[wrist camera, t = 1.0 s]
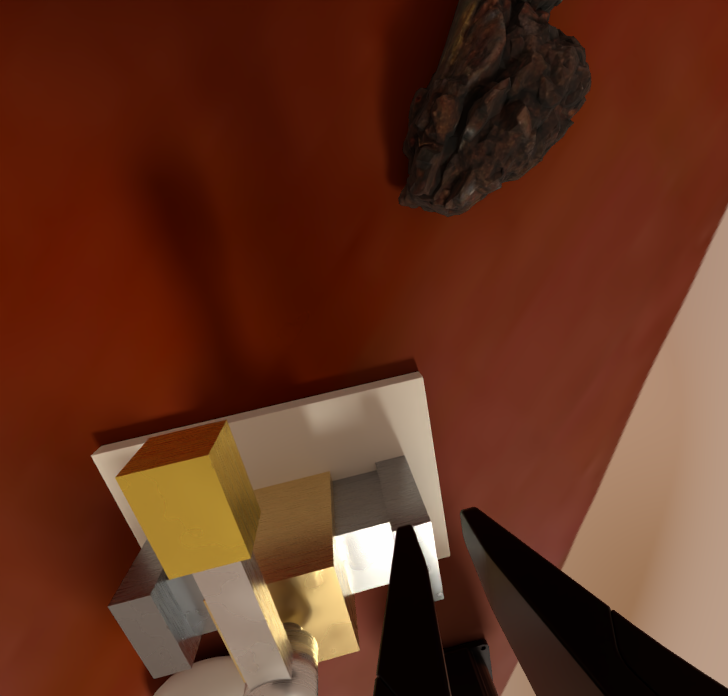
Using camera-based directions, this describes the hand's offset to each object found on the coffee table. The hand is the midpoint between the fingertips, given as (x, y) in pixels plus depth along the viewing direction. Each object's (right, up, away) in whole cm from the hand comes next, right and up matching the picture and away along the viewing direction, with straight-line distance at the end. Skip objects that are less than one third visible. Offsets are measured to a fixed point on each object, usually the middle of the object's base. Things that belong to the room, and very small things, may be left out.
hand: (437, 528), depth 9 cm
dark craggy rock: (+5, +20, +9) cm, 22 cm away
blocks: (-7, -6, +15) cm, 18 cm away
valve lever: (-7, -4, +6) cm, 9 cm away
